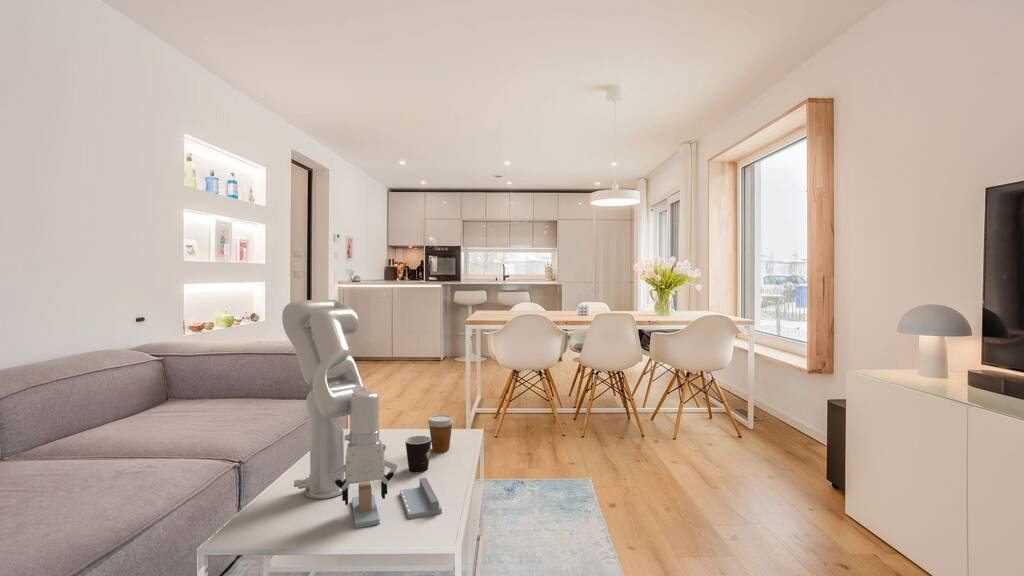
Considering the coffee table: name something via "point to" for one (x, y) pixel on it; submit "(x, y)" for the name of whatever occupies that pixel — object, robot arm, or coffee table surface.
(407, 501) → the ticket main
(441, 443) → the disposable coffee cup
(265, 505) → the coffee table surface
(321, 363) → the robot arm
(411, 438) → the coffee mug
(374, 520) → the grey slab
